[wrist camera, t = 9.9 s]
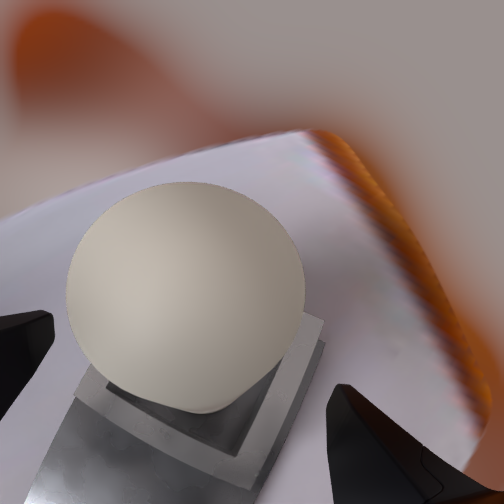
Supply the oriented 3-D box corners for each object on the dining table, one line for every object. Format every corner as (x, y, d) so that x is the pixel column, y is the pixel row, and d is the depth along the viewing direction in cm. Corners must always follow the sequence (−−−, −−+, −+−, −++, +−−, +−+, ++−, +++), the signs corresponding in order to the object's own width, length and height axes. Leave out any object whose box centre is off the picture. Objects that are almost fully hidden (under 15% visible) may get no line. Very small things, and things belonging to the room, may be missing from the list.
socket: (179, 611, 8) (174, 642, 5) (23, 522, 9) (-10, 534, 6) (319, 346, 18) (345, 327, 15) (158, 270, 20) (148, 236, 16)
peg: (208, 430, 14) (200, 460, 4) (144, 377, 15) (27, 285, 5) (259, 367, 16) (346, 263, 6) (195, 319, 17) (178, 153, 7)
